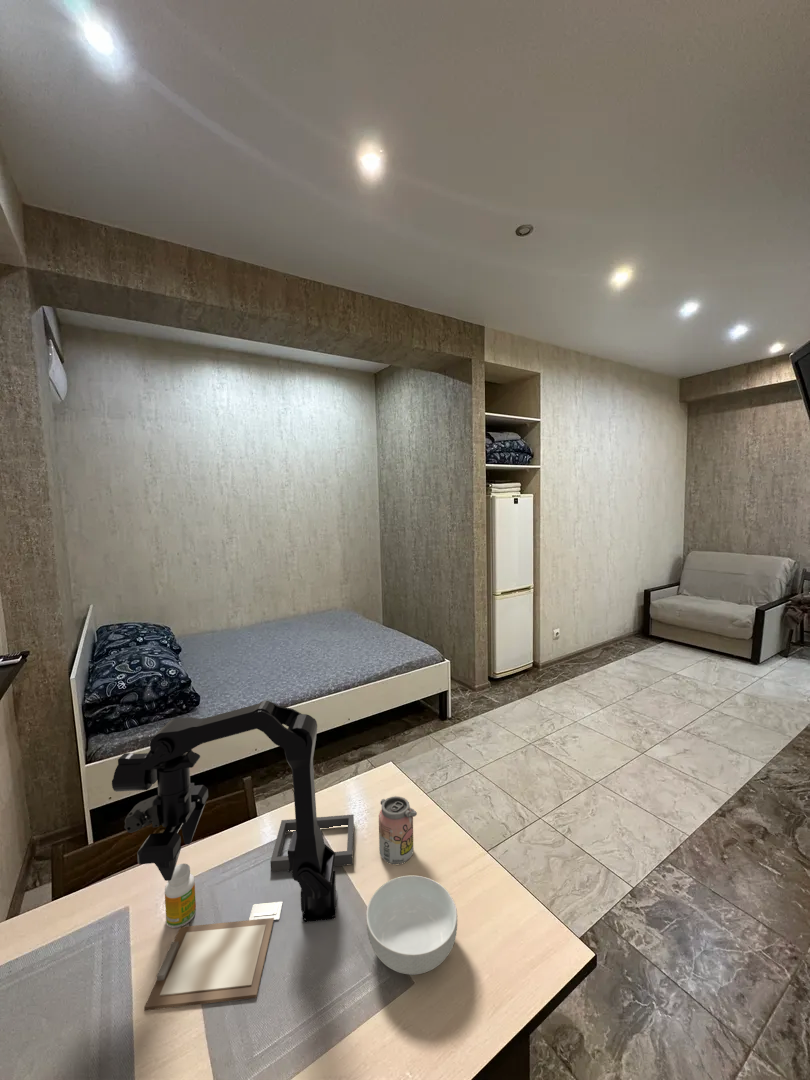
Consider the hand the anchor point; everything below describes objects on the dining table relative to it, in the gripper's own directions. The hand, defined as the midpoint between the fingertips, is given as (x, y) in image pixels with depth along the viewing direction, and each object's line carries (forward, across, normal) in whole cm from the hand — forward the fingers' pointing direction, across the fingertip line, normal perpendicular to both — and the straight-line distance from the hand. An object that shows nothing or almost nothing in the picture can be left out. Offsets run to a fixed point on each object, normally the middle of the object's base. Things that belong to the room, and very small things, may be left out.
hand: (178, 860), depth 88 cm
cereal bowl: (+12, +11, +46) cm, 49 cm away
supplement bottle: (+12, 0, 0) cm, 12 cm away
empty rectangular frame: (+12, -16, +25) cm, 32 cm away
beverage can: (+12, -12, +45) cm, 48 cm away
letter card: (+12, +1, +17) cm, 21 cm away
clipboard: (+12, +10, +10) cm, 18 cm away
